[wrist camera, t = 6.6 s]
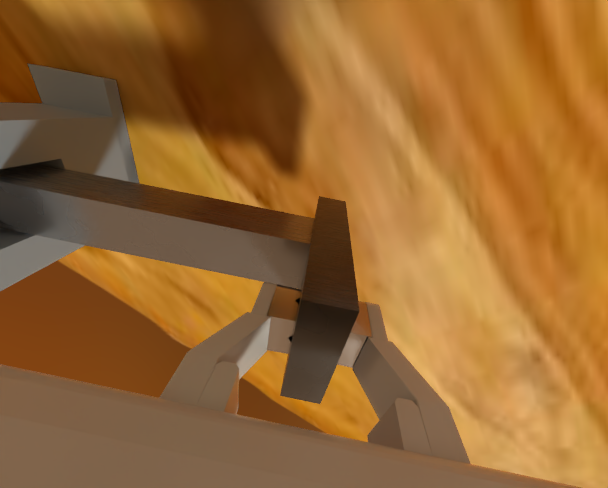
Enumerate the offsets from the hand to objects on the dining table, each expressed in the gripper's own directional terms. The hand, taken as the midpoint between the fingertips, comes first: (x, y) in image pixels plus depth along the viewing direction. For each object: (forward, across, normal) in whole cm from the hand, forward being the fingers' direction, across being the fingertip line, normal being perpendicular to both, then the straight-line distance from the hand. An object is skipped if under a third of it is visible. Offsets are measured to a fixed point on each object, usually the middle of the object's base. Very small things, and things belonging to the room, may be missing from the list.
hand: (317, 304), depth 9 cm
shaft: (+6, +9, 0) cm, 11 cm away
